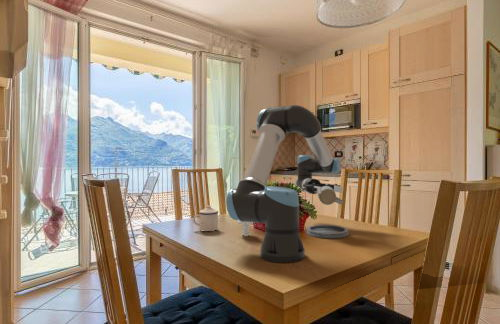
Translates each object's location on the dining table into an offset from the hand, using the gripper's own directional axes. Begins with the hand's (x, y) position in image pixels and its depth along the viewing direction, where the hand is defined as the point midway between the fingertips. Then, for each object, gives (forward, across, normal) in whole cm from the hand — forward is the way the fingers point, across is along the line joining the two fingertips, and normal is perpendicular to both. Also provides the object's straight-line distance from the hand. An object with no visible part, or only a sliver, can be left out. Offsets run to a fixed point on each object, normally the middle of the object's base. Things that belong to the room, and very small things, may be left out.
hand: (331, 190), depth 128 cm
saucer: (-4, 0, -20) cm, 20 cm away
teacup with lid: (-23, +53, -20) cm, 61 cm away
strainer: (-9, +36, -20) cm, 42 cm away
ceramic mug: (-3, -1, -7) cm, 8 cm away
